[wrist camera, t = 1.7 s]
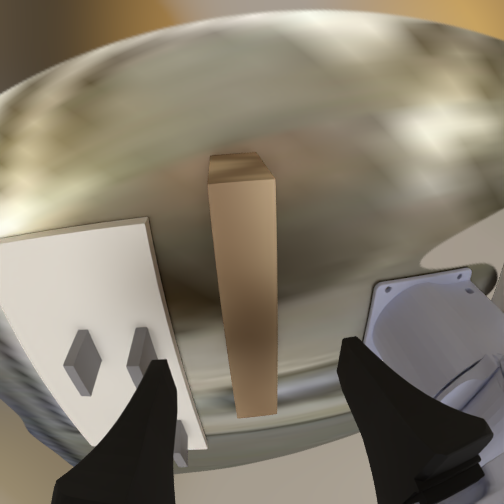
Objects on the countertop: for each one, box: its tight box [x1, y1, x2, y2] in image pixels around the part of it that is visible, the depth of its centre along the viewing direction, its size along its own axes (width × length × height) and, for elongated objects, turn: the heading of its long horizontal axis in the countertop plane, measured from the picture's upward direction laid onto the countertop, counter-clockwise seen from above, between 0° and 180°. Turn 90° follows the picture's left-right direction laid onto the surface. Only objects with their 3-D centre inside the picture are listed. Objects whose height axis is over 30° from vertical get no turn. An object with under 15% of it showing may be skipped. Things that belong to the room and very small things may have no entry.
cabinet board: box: [0, 217, 207, 467], centre depth 20 cm, size 13×24×4 cm, turn 3°
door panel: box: [207, 152, 278, 418], centre depth 17 cm, size 2×14×6 cm, turn 3°
